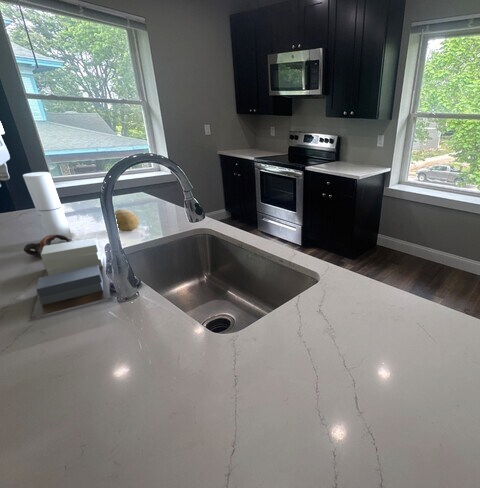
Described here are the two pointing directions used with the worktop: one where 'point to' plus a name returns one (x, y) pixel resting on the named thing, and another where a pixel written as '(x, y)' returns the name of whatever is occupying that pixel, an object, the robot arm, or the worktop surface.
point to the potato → (126, 220)
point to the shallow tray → (74, 301)
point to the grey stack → (69, 284)
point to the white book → (69, 249)
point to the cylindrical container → (47, 204)
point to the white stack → (73, 263)
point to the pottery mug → (42, 244)
